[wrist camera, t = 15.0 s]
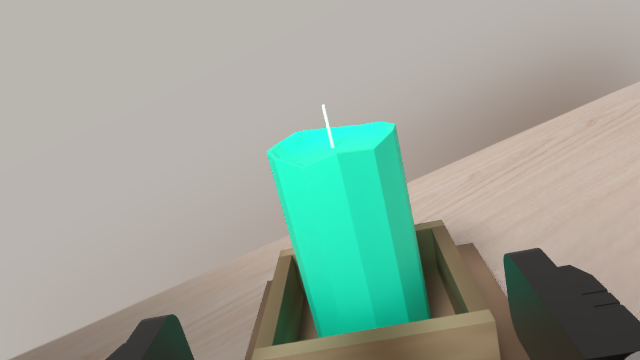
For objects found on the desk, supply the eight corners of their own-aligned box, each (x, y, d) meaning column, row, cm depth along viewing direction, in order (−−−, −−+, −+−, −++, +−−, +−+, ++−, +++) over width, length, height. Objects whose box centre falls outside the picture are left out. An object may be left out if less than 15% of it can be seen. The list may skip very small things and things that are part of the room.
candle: (299, 333, 25) (237, 122, 21) (381, 283, 28) (338, 89, 24) (366, 390, 20) (300, 127, 16) (458, 323, 23) (419, 85, 19)
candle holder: (222, 487, 18) (190, 406, 17) (272, 296, 32) (255, 242, 31) (580, 439, 17) (573, 346, 16) (474, 259, 30) (466, 201, 29)
